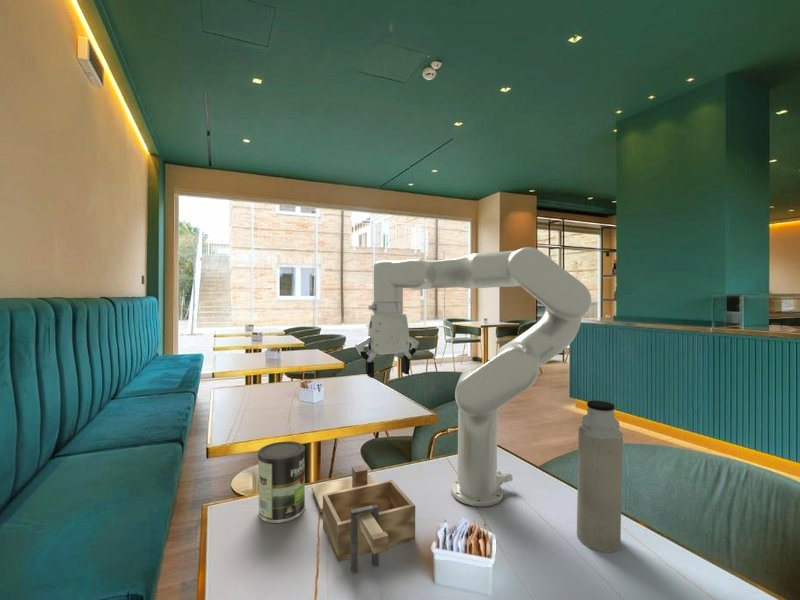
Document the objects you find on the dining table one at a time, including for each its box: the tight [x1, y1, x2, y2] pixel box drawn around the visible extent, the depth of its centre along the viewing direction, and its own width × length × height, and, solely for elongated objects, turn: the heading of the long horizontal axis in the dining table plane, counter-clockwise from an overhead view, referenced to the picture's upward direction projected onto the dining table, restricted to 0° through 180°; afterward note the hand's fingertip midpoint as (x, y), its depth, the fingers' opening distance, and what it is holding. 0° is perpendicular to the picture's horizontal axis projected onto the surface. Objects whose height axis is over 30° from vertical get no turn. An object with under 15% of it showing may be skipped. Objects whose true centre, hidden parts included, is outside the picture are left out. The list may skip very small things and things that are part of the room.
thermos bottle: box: [576, 400, 624, 553], centre depth 81 cm, size 8×8×28 cm
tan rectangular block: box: [358, 513, 389, 554], centre depth 70 cm, size 3×9×2 cm, turn 24°
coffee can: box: [257, 440, 306, 524], centre depth 92 cm, size 10×10×14 cm
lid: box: [311, 464, 377, 513], centre depth 98 cm, size 15×11×7 cm
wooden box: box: [322, 479, 416, 574], centre depth 81 cm, size 16×16×11 cm
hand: (388, 375), depth 104 cm, fingers open, 9 cm apart
